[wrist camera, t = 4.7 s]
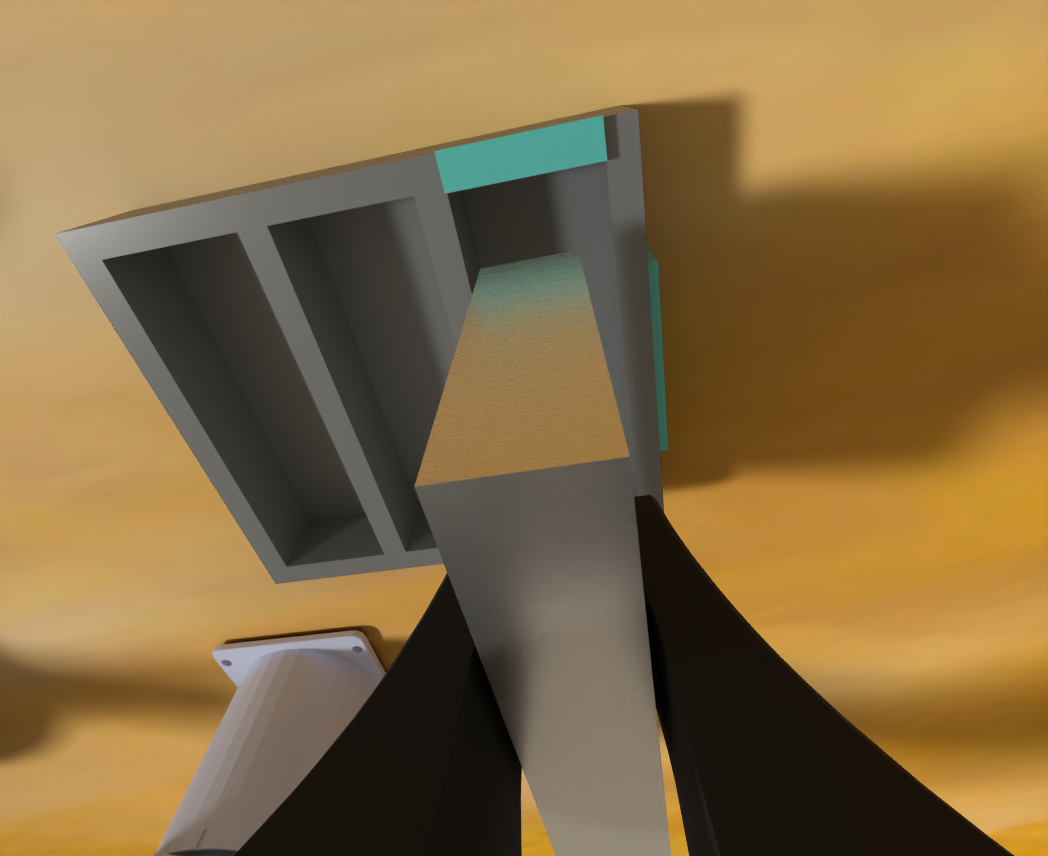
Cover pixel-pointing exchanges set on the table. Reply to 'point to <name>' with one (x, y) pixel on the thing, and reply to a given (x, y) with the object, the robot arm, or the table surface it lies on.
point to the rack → (369, 322)
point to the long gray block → (550, 553)
